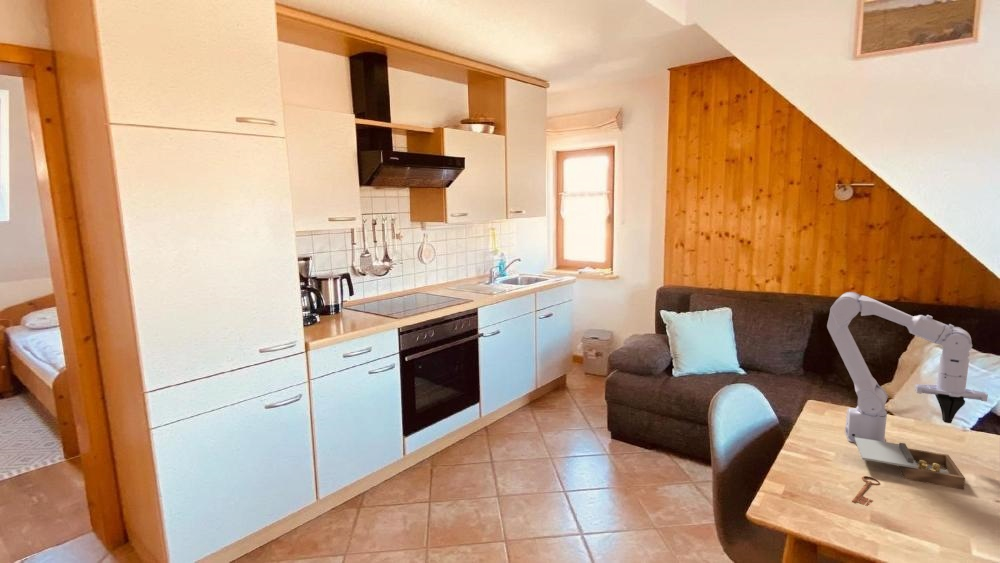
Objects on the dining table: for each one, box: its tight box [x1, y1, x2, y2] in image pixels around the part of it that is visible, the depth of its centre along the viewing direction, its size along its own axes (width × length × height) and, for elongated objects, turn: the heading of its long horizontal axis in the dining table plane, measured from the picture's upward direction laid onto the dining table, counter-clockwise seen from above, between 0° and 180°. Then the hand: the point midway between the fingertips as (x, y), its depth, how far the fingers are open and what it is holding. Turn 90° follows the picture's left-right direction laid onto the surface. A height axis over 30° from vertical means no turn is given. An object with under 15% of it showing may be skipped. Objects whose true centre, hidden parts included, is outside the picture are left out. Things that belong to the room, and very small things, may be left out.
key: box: [851, 475, 881, 507], centre depth 124 cm, size 6×1×15 cm
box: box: [897, 447, 966, 490], centre depth 132 cm, size 12×13×3 cm
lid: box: [855, 437, 918, 469], centre depth 135 cm, size 12×13×2 cm
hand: (946, 421), depth 137 cm, fingers closed
